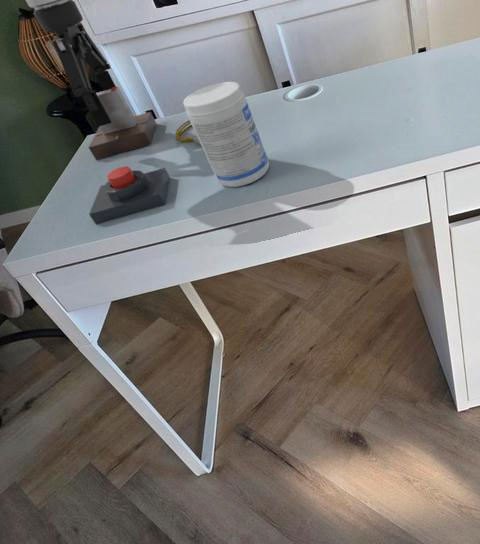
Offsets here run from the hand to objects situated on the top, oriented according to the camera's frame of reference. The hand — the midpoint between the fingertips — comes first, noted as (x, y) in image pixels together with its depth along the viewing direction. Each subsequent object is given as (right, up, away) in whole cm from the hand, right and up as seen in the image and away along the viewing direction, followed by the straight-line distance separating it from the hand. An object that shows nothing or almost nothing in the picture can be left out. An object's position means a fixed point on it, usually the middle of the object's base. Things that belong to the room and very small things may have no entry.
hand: (111, 112), depth 105 cm
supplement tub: (+33, -17, -19) cm, 42 cm away
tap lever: (+1, -3, +3) cm, 4 cm away
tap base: (+1, -5, +4) cm, 7 cm away
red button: (+13, -19, -20) cm, 31 cm away
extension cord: (+20, -5, -1) cm, 21 cm away
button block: (+14, -22, -18) cm, 31 cm away
